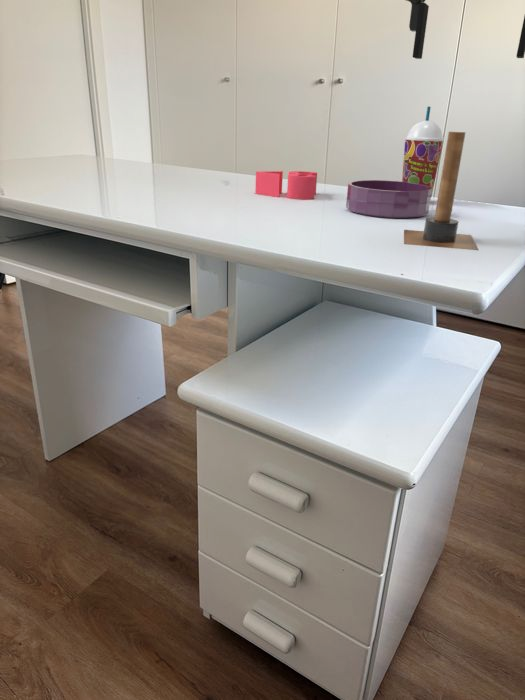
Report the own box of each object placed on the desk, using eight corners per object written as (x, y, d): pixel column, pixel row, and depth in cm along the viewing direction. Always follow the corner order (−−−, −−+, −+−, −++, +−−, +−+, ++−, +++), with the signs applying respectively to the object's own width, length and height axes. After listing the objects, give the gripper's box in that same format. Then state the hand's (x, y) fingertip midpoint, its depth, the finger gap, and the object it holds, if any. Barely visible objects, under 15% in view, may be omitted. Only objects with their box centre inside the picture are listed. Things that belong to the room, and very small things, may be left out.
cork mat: (470, 237, 90) (471, 234, 90) (478, 253, 80) (479, 250, 80) (403, 232, 92) (404, 229, 92) (403, 247, 83) (403, 243, 82)
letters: (251, 196, 123) (252, 173, 121) (259, 190, 132) (259, 169, 130) (313, 200, 121) (314, 176, 119) (316, 193, 130) (317, 172, 128)
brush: (453, 237, 88) (472, 132, 81) (456, 243, 83) (476, 133, 77) (422, 234, 89) (438, 130, 82) (423, 241, 84) (440, 131, 78)
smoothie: (402, 204, 119) (415, 106, 111) (392, 198, 127) (404, 105, 118) (439, 205, 120) (455, 107, 111) (427, 199, 127) (441, 107, 119)
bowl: (426, 209, 114) (430, 183, 112) (429, 224, 100) (433, 193, 97) (349, 204, 117) (352, 178, 115) (342, 217, 103) (344, 188, 101)
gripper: (390, -137, 67) (371, 55, 76) (621, -173, 57) (568, 54, 66) (404, -116, 73) (385, 60, 82) (615, -145, 63) (567, 59, 72)
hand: (466, 58), depth 74 cm, fingers open, 13 cm apart
